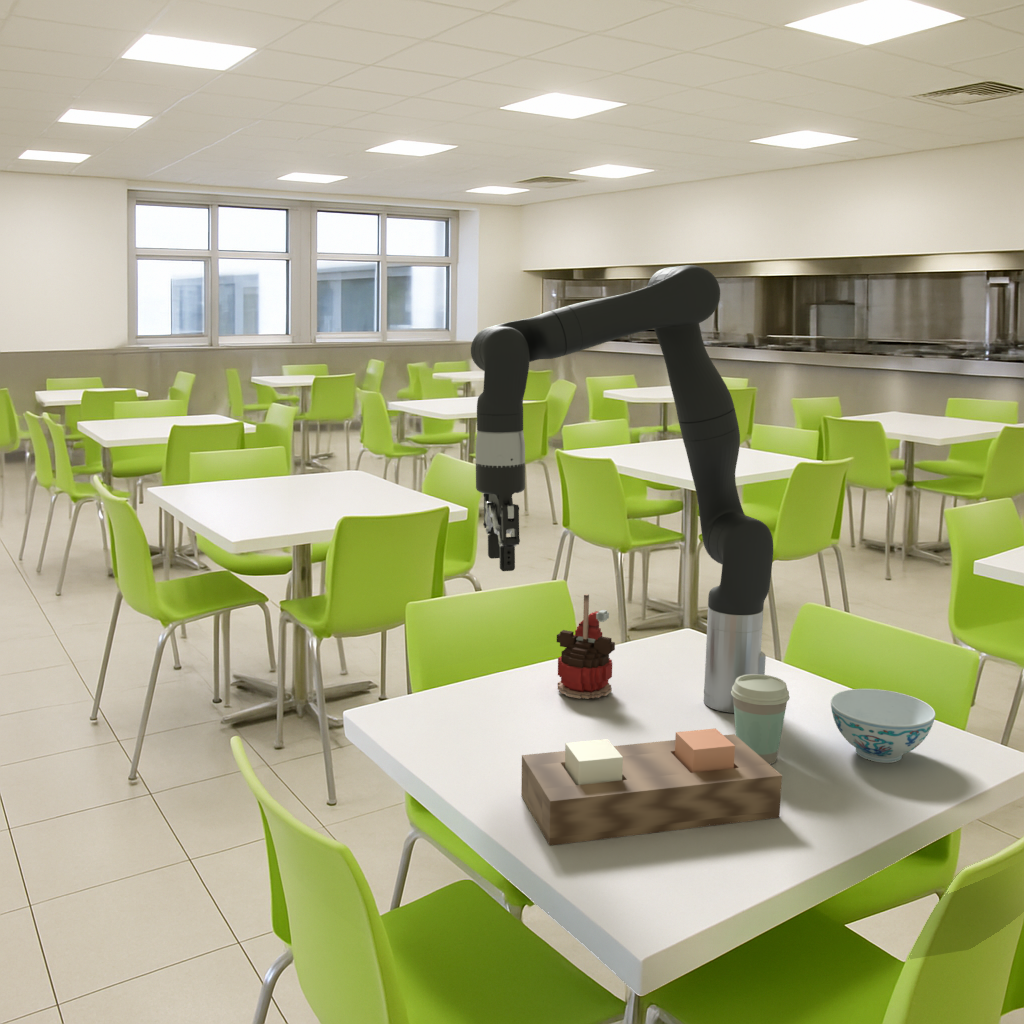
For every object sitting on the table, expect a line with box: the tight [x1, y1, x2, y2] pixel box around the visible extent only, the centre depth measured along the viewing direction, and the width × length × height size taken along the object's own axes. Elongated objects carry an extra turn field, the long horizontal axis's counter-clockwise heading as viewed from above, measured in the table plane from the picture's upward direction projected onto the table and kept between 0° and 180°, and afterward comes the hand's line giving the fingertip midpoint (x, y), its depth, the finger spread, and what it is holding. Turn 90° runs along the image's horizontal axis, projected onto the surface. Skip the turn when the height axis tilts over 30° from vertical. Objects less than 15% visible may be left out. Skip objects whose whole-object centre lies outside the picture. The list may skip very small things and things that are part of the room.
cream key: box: [564, 738, 623, 785], centre depth 135 cm, size 6×6×4 cm
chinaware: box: [830, 688, 936, 764], centre depth 155 cm, size 15×15×8 cm
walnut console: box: [521, 733, 783, 846], centre depth 138 cm, size 32×14×6 cm, turn 104°
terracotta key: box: [674, 728, 735, 773], centre depth 139 cm, size 6×6×4 cm
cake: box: [556, 593, 616, 700], centre depth 179 cm, size 11×9×18 cm
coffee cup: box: [731, 674, 790, 765], centre depth 153 cm, size 8×8×12 cm
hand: (501, 564), depth 157 cm, fingers open, 8 cm apart
